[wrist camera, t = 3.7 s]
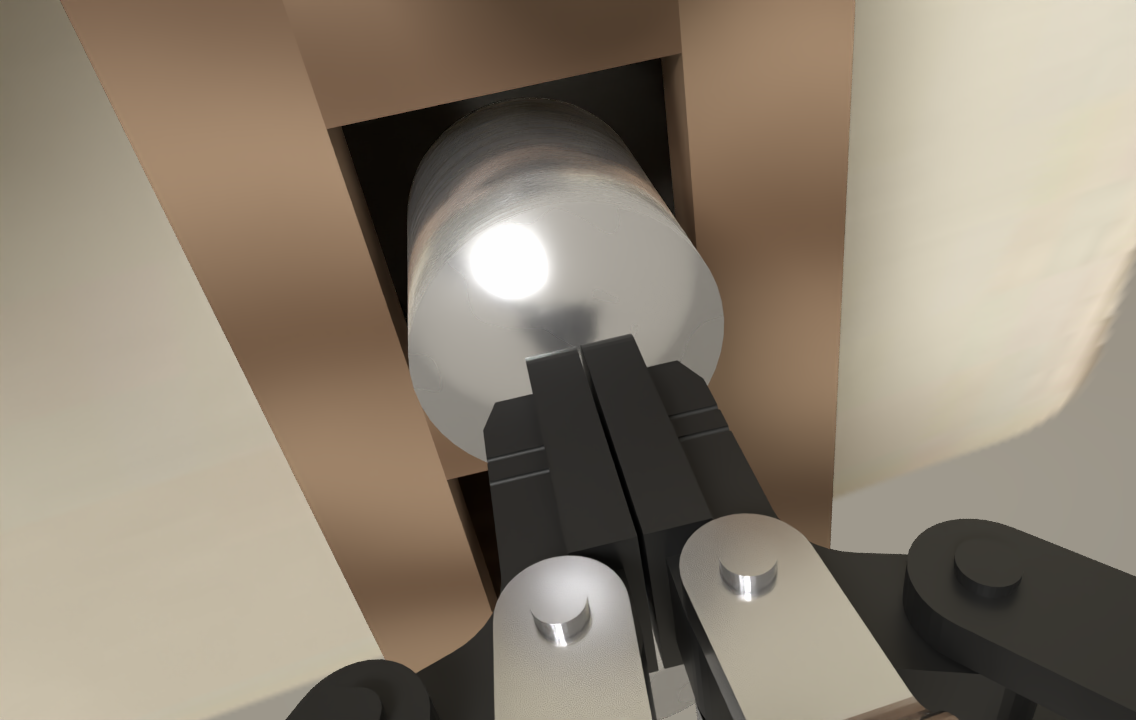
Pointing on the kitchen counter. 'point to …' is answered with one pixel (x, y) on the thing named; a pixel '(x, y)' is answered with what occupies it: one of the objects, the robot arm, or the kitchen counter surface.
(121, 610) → the kitchen counter surface
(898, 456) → the kitchen counter surface
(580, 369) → the robot arm
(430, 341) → the spice jar
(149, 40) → the wooden spice jar rack
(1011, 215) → the kitchen counter surface
